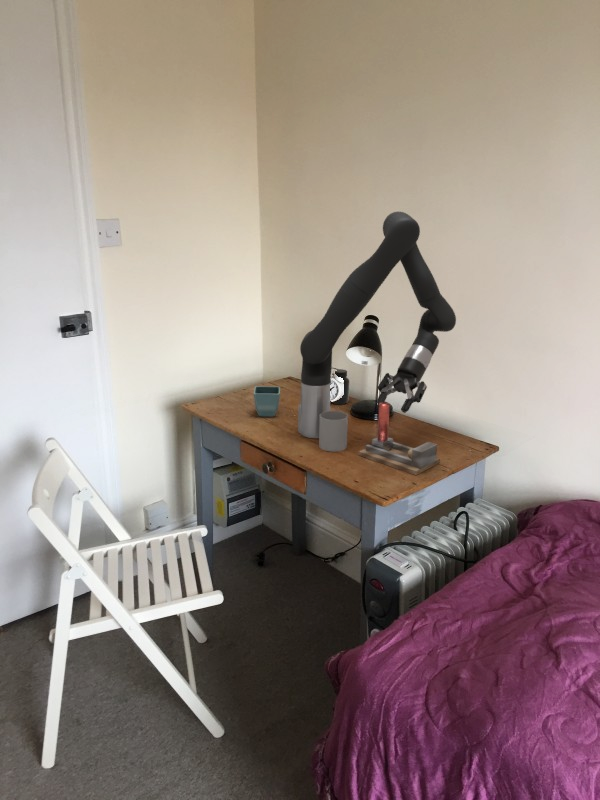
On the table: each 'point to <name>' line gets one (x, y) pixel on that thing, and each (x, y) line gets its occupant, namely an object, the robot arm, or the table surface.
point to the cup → (333, 431)
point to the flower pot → (266, 400)
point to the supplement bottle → (343, 375)
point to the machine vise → (404, 456)
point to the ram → (383, 428)
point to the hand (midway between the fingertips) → (390, 408)
